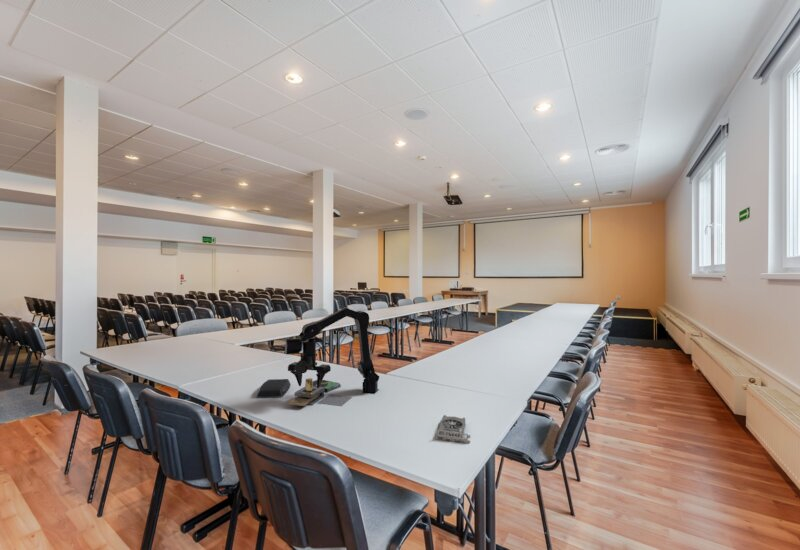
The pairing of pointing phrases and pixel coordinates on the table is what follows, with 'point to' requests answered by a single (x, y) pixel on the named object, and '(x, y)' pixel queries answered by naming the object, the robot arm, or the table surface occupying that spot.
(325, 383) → the disk drive
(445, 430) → the graphics card
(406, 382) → the table surface
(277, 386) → the external hard drive
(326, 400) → the rubber mat
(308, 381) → the brass pin
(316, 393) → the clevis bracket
